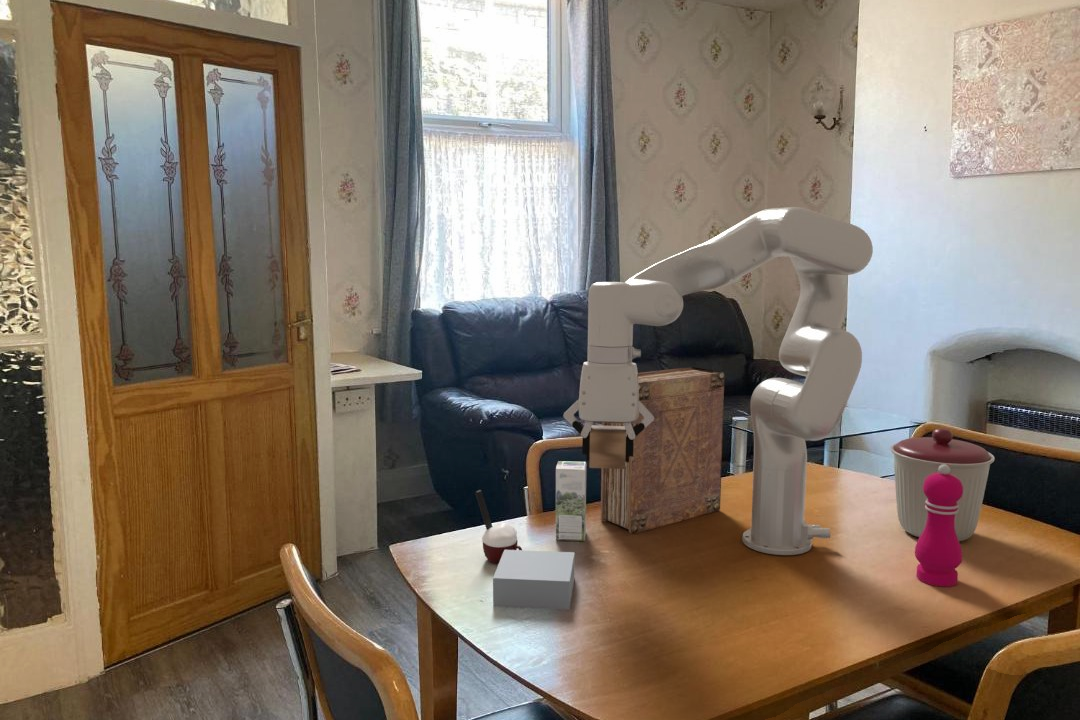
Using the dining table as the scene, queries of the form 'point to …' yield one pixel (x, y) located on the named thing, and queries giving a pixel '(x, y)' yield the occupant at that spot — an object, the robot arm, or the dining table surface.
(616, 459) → the walnut cube
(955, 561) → the pepper mill
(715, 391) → the book
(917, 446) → the canister
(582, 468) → the syrup box
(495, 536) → the cocoa
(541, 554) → the grey block
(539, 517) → the dining table surface
